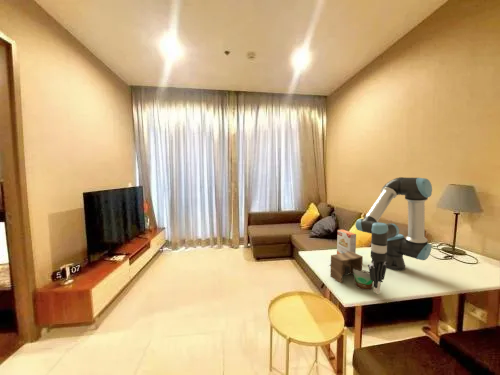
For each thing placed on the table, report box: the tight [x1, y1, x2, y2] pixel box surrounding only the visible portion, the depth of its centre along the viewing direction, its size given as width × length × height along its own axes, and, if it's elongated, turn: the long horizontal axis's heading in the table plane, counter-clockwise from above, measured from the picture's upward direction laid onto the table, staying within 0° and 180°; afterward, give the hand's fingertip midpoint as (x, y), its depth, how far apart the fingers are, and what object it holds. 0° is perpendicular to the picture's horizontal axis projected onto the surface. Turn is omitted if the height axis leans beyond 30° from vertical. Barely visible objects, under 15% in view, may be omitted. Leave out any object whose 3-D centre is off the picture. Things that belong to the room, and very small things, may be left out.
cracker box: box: [336, 229, 357, 254], centre depth 174 cm, size 14×6×21 cm, turn 20°
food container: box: [353, 269, 374, 291], centre depth 130 cm, size 12×6×10 cm, turn 65°
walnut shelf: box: [329, 252, 364, 284], centre depth 142 cm, size 17×9×14 cm, turn 111°
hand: (376, 292), depth 123 cm, fingers closed
